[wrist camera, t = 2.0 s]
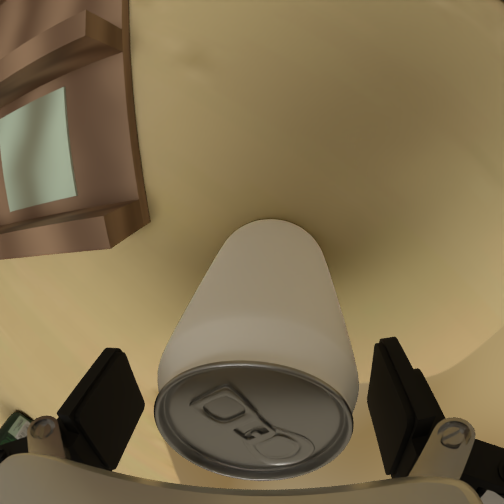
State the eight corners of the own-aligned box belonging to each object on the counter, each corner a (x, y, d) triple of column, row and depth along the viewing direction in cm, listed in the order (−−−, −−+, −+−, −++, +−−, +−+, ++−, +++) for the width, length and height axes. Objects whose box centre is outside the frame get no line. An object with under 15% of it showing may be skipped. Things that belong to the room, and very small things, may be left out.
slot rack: (131, -73, 11) (102, -104, 6) (150, 221, 19) (110, 248, 14) (-24, 21, 13) (-59, 16, 9) (-13, 245, 21) (-50, 265, 16)
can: (264, 333, 20) (242, 498, 9) (196, 261, 19) (101, 404, 8) (346, 277, 19) (404, 439, 7) (279, 193, 17) (269, 294, 6)
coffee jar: (46, 453, 33) (-1, 532, 16) (8, 420, 32) (-46, 494, 15) (61, 442, 30) (5, 538, 13) (17, 403, 29) (-49, 493, 12)
